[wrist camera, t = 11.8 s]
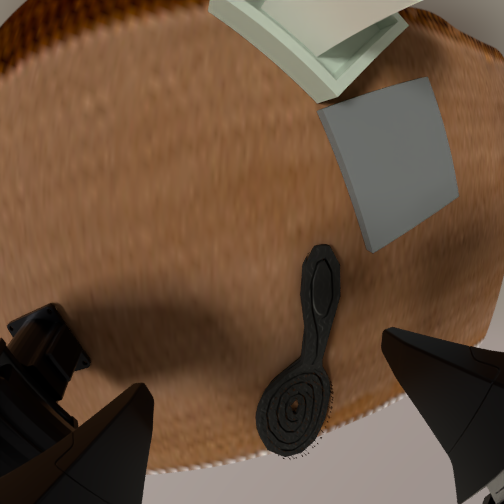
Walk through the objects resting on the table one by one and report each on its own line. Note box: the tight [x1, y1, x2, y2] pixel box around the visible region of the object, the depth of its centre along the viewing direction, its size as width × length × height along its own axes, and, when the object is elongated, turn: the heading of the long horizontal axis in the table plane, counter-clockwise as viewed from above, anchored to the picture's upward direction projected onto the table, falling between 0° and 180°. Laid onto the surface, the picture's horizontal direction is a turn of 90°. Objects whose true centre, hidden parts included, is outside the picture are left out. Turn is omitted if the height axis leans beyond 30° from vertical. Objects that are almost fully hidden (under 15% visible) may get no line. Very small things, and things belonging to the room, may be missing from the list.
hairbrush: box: [256, 244, 340, 459], centre depth 25 cm, size 8×4×25 cm
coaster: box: [317, 77, 459, 253], centre depth 21 cm, size 12×12×1 cm
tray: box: [208, 0, 409, 103], centre depth 15 cm, size 11×11×3 cm
